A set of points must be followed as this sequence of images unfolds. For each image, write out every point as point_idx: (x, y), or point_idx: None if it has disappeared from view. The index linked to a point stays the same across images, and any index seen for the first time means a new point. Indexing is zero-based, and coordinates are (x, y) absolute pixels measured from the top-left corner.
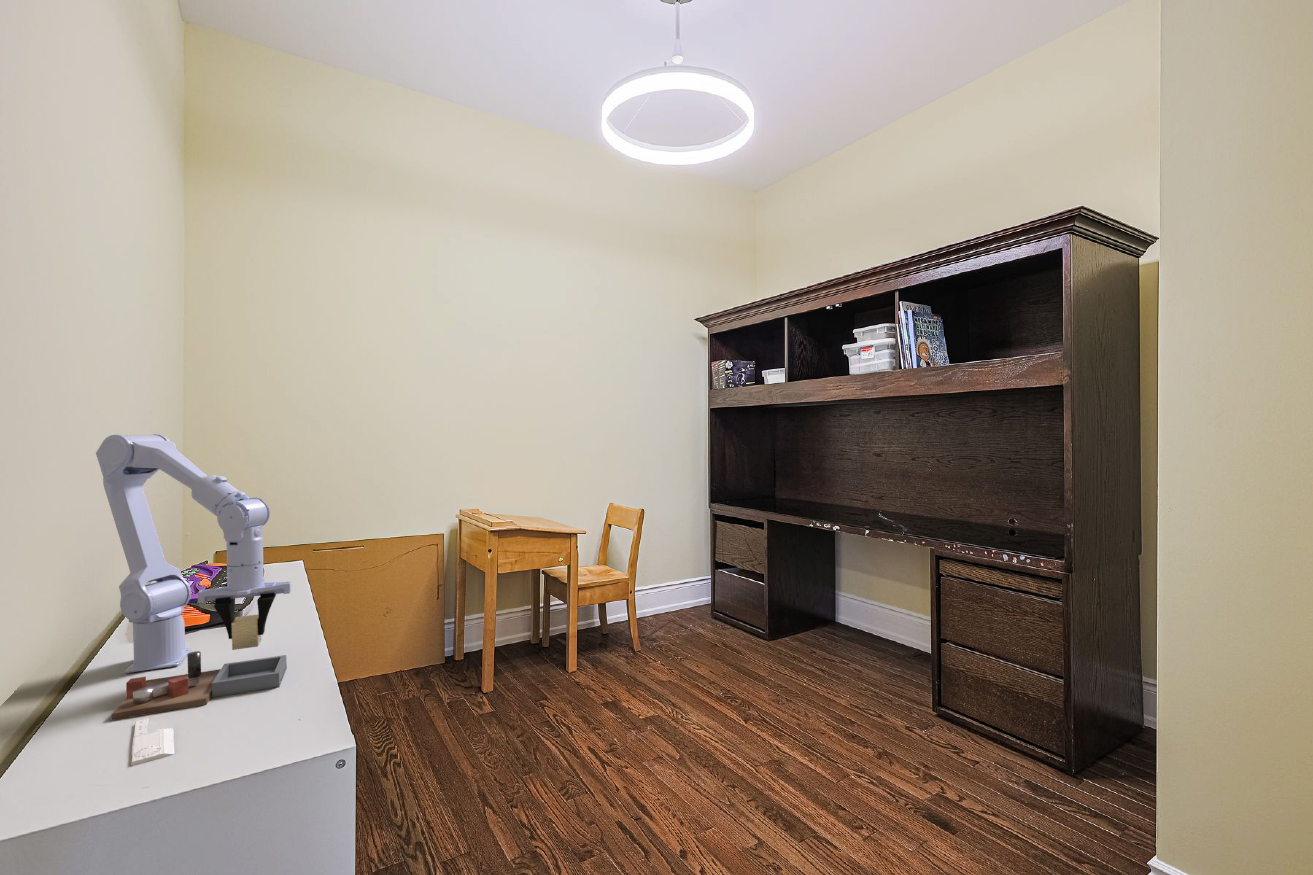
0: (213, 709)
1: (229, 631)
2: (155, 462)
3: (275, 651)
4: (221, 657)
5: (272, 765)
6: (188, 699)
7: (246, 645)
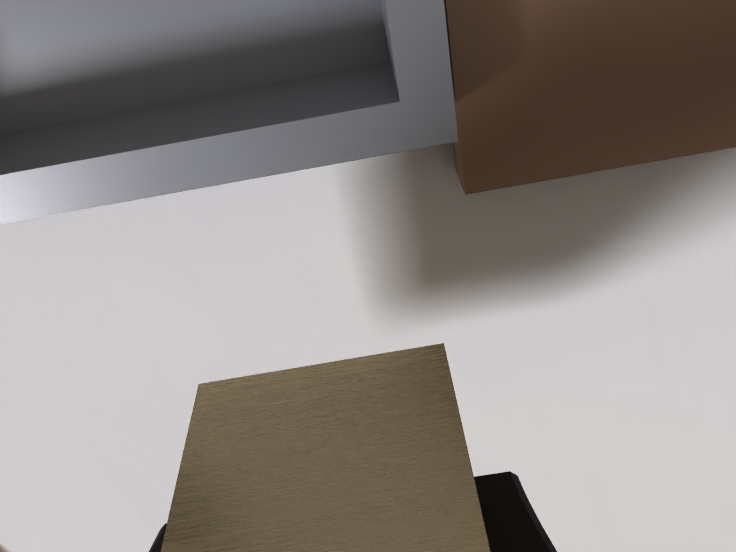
0: None
1: (526, 549)
2: None
3: None
4: (583, 492)
5: None
6: None
7: (306, 387)
